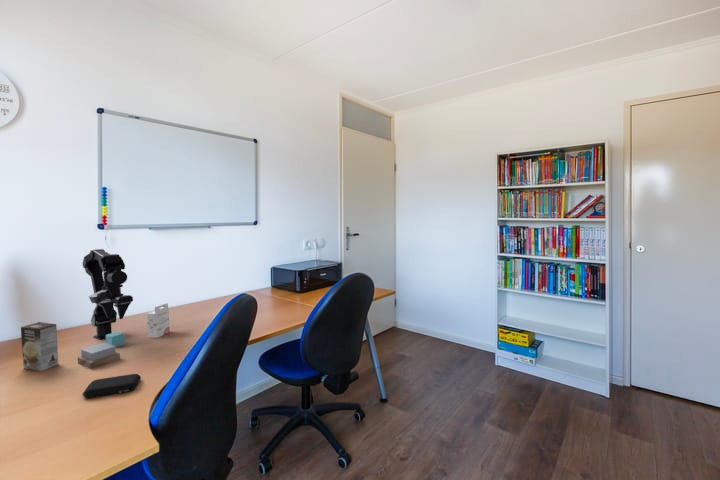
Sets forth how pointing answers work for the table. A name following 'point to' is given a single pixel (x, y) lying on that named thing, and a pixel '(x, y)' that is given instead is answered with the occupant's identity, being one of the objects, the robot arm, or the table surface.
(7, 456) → the table surface
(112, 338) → the teal cube
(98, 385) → the carrying case or bag
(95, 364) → the tan flat square block
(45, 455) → the table surface
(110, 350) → the grey slab
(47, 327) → the coffee box
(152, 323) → the ink cartridge box
